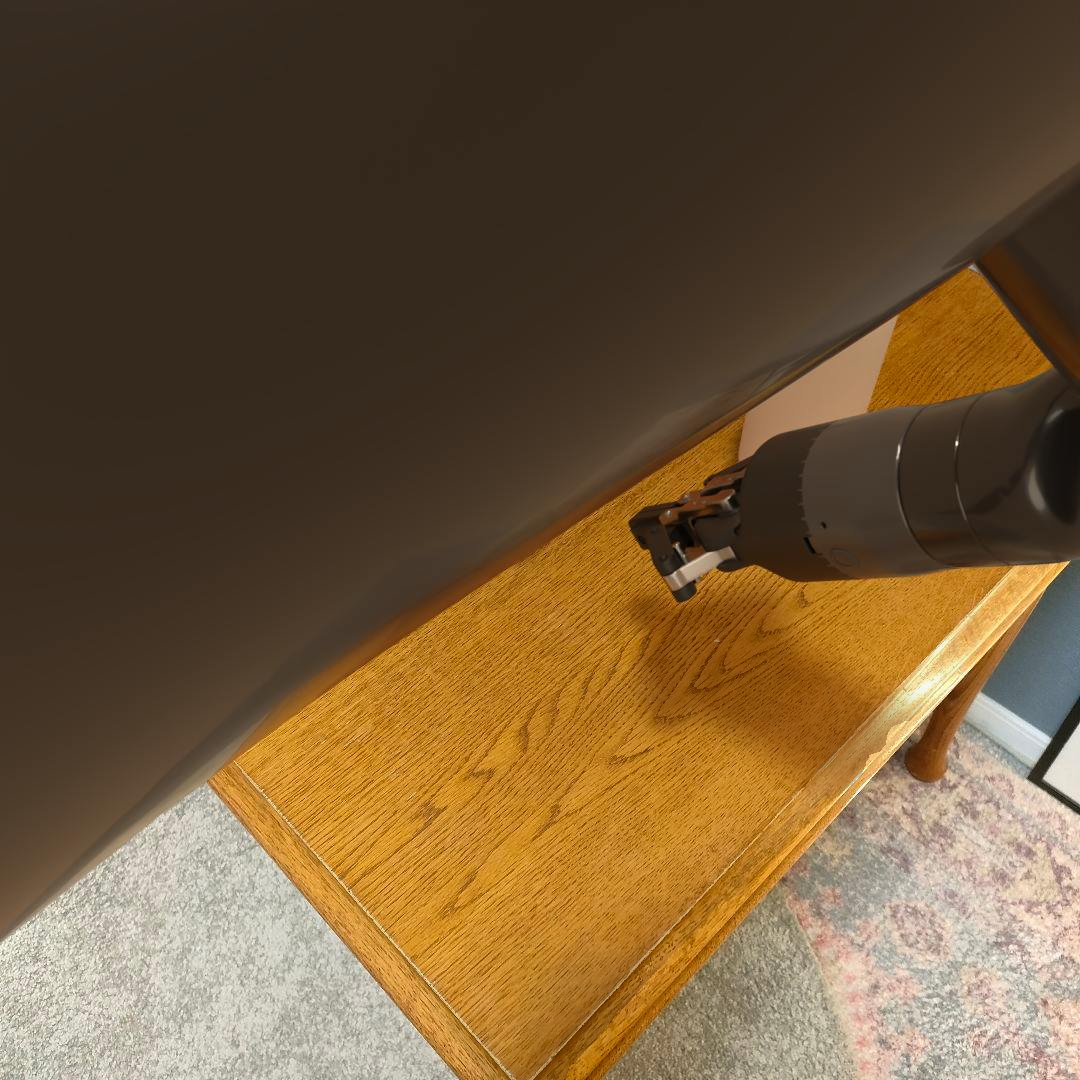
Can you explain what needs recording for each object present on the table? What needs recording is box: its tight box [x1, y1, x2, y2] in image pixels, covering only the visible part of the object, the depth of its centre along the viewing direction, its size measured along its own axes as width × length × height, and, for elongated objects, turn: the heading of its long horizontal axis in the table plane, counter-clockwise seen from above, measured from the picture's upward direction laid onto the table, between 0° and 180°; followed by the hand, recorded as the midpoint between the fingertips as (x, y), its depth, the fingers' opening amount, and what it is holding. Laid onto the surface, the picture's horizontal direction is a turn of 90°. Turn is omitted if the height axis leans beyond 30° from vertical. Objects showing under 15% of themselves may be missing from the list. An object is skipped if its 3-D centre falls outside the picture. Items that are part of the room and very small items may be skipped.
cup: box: [737, 314, 900, 462], centre depth 67 cm, size 8×8×16 cm
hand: (642, 528), depth 58 cm, fingers closed
